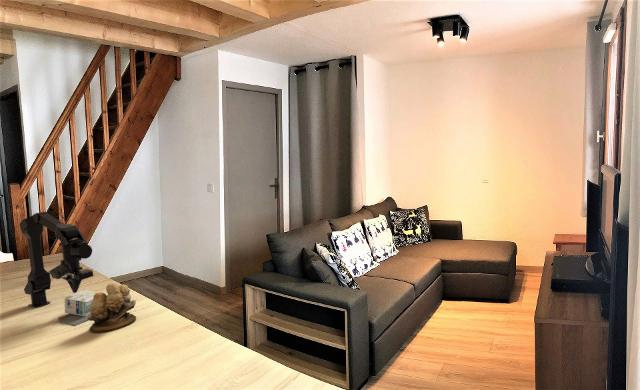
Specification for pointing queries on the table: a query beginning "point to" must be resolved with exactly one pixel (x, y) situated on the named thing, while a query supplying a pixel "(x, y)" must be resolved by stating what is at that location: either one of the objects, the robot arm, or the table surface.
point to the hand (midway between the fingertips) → (75, 292)
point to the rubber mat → (74, 319)
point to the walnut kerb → (64, 316)
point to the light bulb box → (79, 303)
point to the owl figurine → (111, 309)
